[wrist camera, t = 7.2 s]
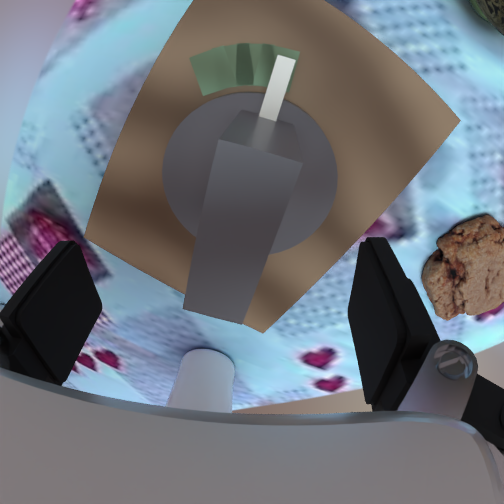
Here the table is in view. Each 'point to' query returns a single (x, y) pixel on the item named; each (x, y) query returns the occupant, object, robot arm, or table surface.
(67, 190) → the table surface
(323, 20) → the wooden board
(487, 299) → the cookie
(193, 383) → the drinking glass
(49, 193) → the table surface
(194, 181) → the tuning knob
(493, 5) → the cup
